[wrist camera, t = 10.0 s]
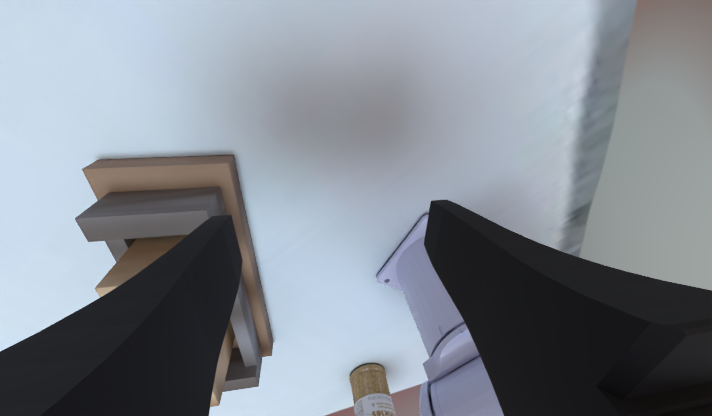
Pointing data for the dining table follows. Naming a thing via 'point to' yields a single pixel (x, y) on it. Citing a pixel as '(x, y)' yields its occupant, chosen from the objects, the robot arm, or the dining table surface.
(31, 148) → the dining table surface
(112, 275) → the door panel
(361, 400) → the sprinkles bottle
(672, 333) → the robot arm
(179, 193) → the hinge base
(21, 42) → the dining table surface
